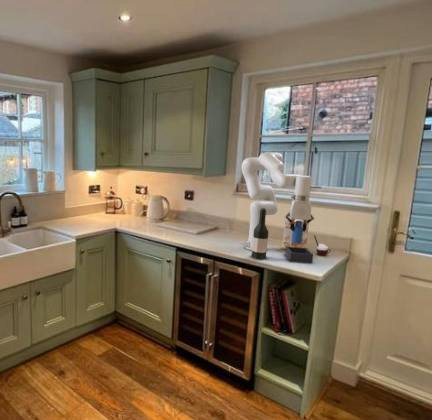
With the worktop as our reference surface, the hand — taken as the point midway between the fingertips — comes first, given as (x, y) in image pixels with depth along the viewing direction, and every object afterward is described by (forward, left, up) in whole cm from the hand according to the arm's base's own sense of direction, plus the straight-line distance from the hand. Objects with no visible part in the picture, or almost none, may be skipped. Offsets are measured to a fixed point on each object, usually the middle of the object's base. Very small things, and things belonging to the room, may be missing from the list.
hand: (297, 230), depth 199 cm
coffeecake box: (+8, +37, -20) cm, 43 cm away
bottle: (0, 0, -7) cm, 7 cm away
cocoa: (+21, +27, -20) cm, 40 cm away
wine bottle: (-18, +9, -20) cm, 28 cm away
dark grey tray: (+5, +14, -20) cm, 25 cm away
